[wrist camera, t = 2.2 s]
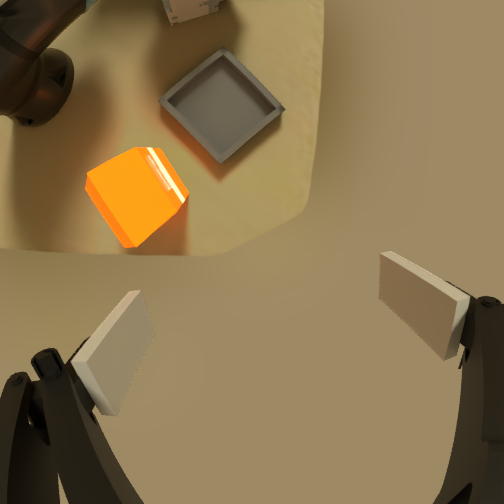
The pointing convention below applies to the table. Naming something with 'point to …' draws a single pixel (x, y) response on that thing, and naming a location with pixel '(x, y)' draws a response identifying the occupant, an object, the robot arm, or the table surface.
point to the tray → (221, 104)
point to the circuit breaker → (189, 9)
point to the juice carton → (136, 193)
